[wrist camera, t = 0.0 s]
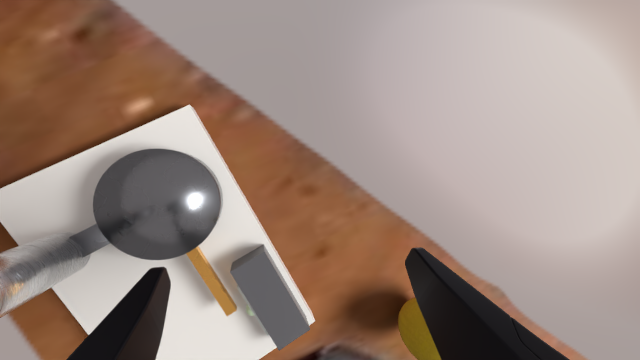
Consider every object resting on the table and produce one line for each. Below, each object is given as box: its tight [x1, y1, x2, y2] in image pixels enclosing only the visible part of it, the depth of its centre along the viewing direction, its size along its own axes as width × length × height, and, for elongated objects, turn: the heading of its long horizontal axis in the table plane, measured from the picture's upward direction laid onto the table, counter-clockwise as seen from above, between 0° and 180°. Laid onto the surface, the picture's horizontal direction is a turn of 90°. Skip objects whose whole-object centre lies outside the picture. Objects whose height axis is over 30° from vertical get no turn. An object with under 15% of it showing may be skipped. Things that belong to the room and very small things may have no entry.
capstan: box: [0, 149, 237, 318], centre depth 15 cm, size 14×12×11 cm
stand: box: [0, 105, 315, 360], centre depth 20 cm, size 22×15×4 cm
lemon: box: [398, 298, 441, 360], centre depth 24 cm, size 6×6×8 cm
